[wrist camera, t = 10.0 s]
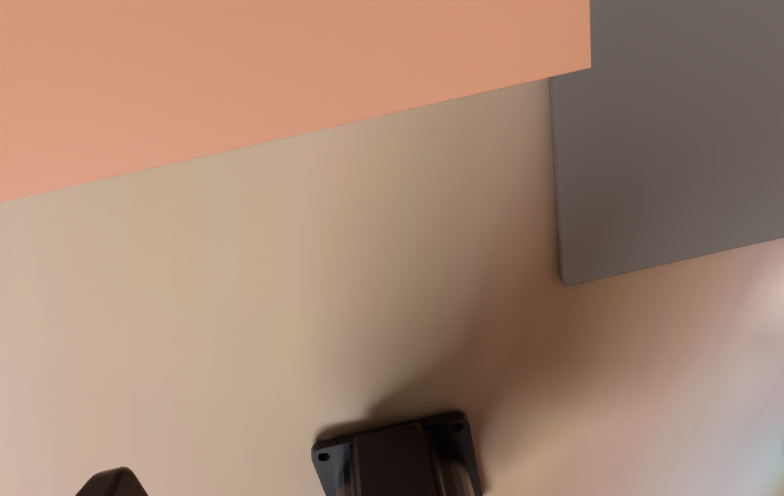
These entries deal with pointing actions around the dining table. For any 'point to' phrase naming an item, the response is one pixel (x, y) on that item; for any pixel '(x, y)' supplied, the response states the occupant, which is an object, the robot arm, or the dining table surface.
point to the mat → (669, 135)
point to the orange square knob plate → (246, 73)
